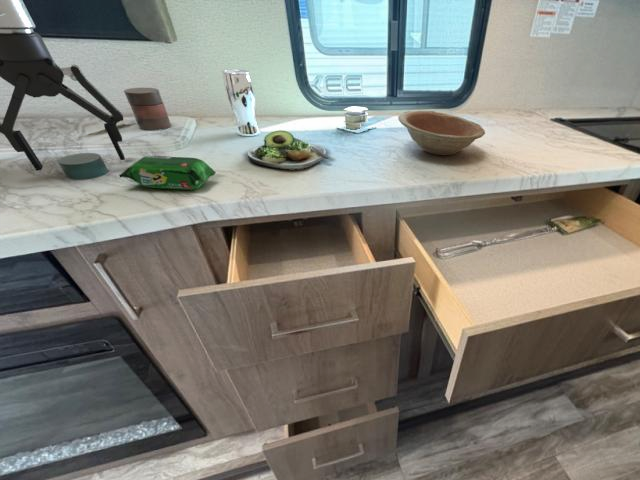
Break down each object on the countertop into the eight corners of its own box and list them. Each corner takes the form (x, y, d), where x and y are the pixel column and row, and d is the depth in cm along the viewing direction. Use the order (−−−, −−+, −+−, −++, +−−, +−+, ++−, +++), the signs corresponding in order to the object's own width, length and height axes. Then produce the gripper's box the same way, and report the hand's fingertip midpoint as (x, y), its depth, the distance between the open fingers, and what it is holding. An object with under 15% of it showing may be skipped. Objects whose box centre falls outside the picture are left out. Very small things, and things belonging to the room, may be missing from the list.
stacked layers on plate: (358, 134, 102) (358, 114, 99) (335, 128, 105) (334, 109, 102) (376, 127, 109) (376, 108, 105) (354, 122, 112) (353, 104, 109)
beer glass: (231, 134, 95) (214, 71, 85) (246, 128, 100) (233, 68, 90) (251, 138, 93) (237, 74, 84) (266, 132, 99) (255, 71, 89)
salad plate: (346, 155, 87) (345, 136, 84) (306, 178, 74) (303, 157, 71) (285, 142, 92) (282, 124, 89) (238, 162, 79) (233, 141, 76)
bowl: (458, 172, 82) (464, 138, 77) (380, 151, 91) (380, 118, 86) (492, 150, 98) (499, 120, 93) (422, 133, 107) (425, 105, 102)
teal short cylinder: (57, 177, 68) (48, 161, 66) (88, 165, 73) (80, 151, 71) (87, 181, 67) (79, 166, 65) (116, 169, 72) (109, 155, 70)
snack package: (144, 176, 70) (132, 151, 67) (220, 179, 71) (212, 154, 68) (124, 191, 65) (109, 164, 61) (206, 194, 66) (197, 167, 62)
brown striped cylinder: (131, 128, 94) (115, 91, 88) (153, 121, 100) (139, 86, 94) (158, 131, 93) (143, 94, 87) (178, 124, 99) (166, 89, 93)
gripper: (-117, 30, 47) (-4, 179, 61) (101, 33, 58) (154, 159, 72) (-98, 26, 51) (3, 166, 65) (101, 30, 62) (151, 149, 76)
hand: (83, 163), depth 69 cm, fingers open, 13 cm apart
